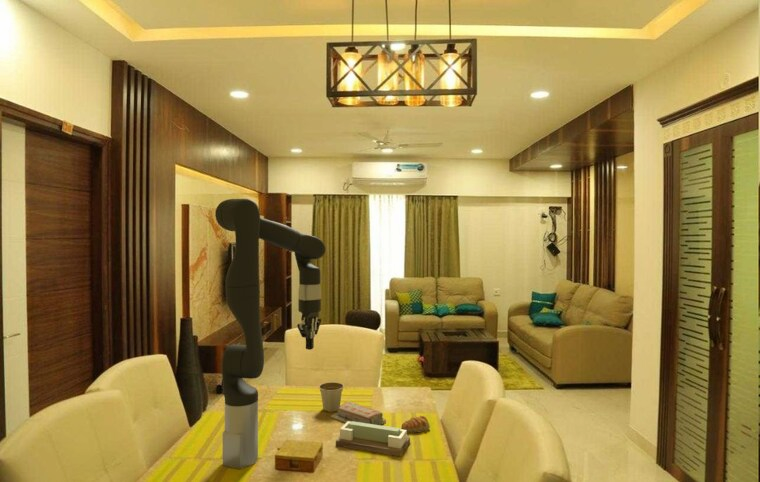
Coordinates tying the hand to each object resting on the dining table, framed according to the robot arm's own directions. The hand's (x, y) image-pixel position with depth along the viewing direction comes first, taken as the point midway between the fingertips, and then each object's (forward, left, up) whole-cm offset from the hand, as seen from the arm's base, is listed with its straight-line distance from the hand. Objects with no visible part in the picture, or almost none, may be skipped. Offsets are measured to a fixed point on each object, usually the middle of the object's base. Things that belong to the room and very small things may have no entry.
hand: (309, 348), depth 154 cm
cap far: (-3, -16, -26) cm, 30 cm away
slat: (-3, -24, -26) cm, 35 cm away
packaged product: (+13, -12, -28) cm, 33 cm away
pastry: (+13, -34, -28) cm, 45 cm away
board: (-3, -24, -27) cm, 36 cm away
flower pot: (+19, +1, -27) cm, 33 cm away
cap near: (-3, -32, -26) cm, 41 cm away
